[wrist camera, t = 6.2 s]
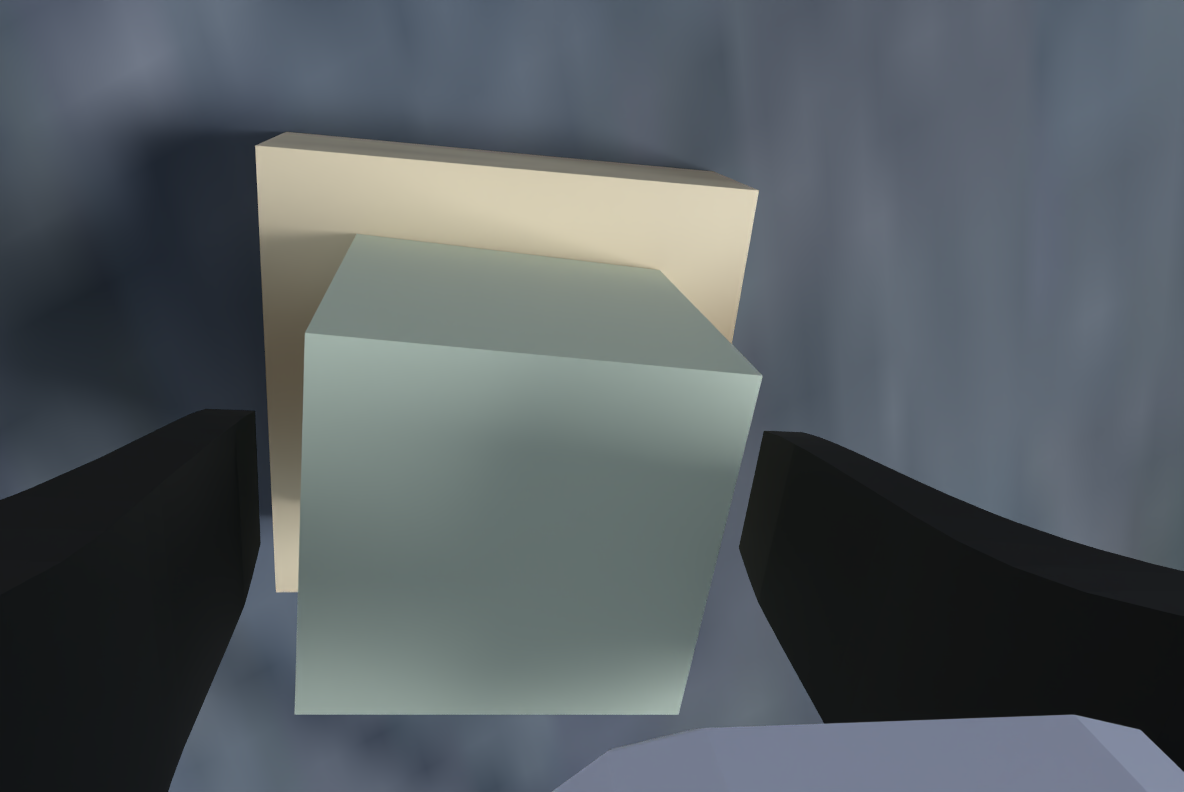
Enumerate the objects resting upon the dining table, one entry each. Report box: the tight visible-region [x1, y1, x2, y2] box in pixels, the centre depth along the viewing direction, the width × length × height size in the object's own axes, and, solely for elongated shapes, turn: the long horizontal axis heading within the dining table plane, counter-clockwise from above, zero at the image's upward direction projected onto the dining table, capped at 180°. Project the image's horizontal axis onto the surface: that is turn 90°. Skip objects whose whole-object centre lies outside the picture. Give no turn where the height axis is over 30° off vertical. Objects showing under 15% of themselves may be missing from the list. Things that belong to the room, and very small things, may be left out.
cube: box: [295, 234, 762, 715], centre depth 12 cm, size 5×5×5 cm
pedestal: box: [255, 132, 759, 592], centre depth 16 cm, size 8×8×3 cm
